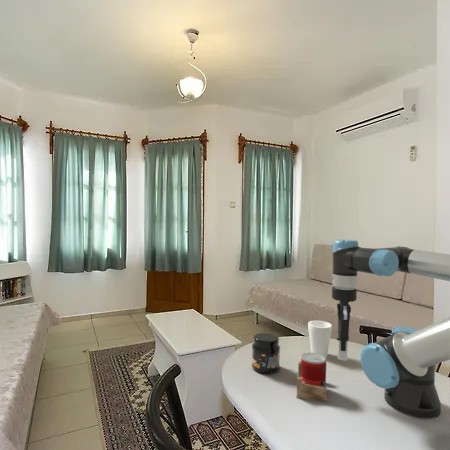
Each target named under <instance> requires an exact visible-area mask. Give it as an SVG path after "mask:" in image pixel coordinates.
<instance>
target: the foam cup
mask: <svg viewBox="0 0 450 450" xmlns="http://www.w3.org/2000/svg"><path fill="white" fill-rule="evenodd" d="M307 325H308V326H307V329H308V333H309V334H308V335H309V336H308V337H309V343H310V345H309V346H310V353H317V354H321V355H323V356H324V357H326V358H327V357H328V354H329V348H330V347H329V346H330V341H331V335H332V331H333V325H332V323H330V322H328V321H324V320H310V321H308V323H307Z"/></svg>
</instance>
